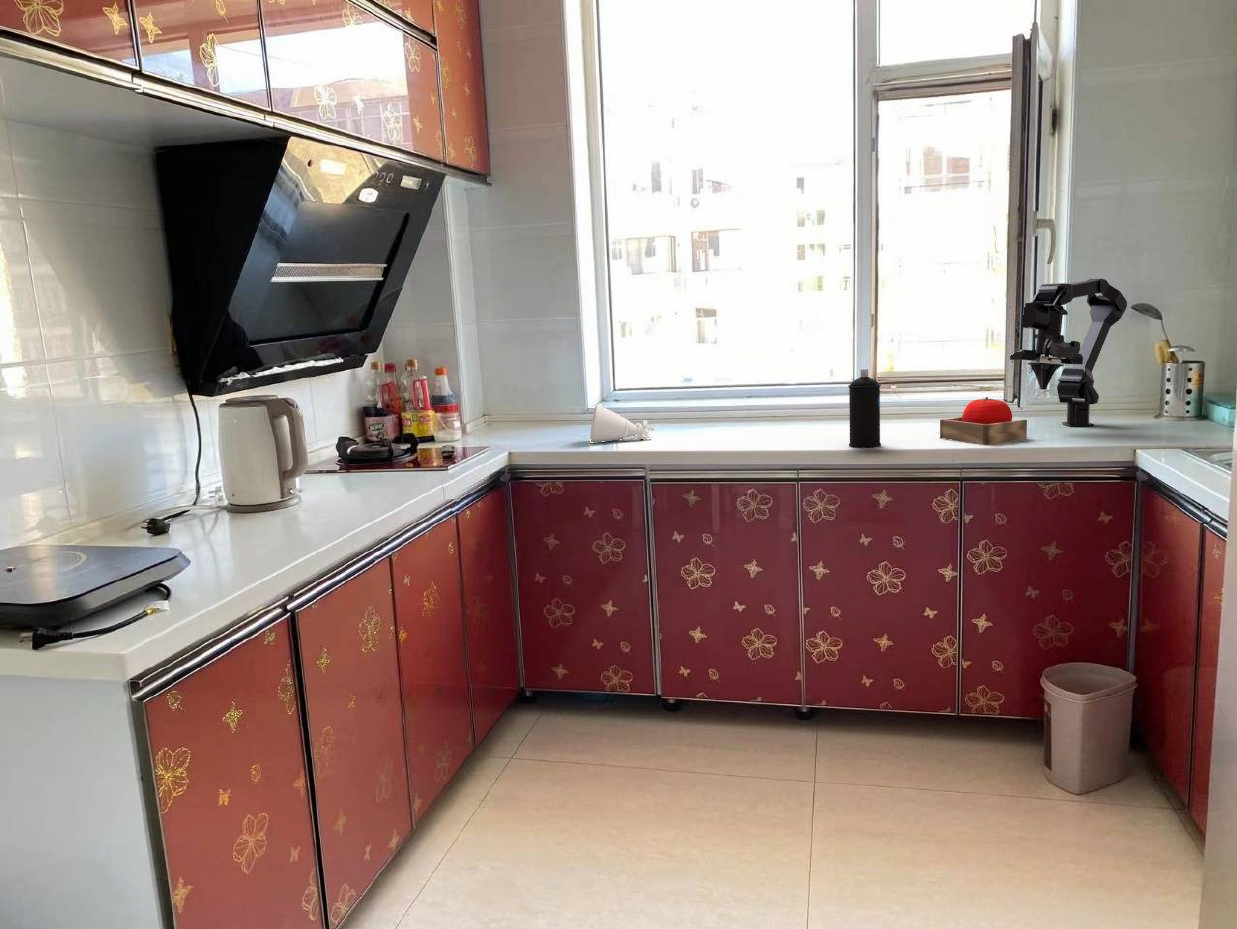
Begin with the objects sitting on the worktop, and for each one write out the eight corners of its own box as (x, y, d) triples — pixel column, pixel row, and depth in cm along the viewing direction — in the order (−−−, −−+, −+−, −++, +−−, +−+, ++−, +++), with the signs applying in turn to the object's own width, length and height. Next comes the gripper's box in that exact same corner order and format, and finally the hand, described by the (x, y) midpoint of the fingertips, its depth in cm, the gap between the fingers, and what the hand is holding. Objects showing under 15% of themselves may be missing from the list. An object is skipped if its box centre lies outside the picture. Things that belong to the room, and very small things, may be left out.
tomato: (953, 436, 258) (954, 397, 256) (990, 432, 262) (990, 393, 260) (983, 441, 247) (983, 400, 245) (1020, 437, 251) (1021, 396, 249)
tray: (979, 432, 264) (979, 414, 263) (1026, 438, 250) (1026, 419, 249) (939, 438, 258) (940, 419, 257) (985, 444, 244) (986, 425, 243)
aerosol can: (861, 449, 247) (860, 371, 244) (842, 445, 255) (841, 369, 251) (887, 445, 250) (887, 368, 247) (868, 442, 258) (867, 367, 254)
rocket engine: (657, 406, 283) (597, 396, 281) (656, 435, 275) (594, 425, 273) (649, 432, 291) (591, 422, 290) (648, 461, 284) (588, 451, 282)
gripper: (1038, 327, 247) (1031, 388, 249) (1100, 332, 252) (1094, 392, 253) (1011, 328, 258) (1005, 387, 260) (1071, 333, 262) (1065, 391, 264)
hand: (1043, 389), depth 259 cm, fingers closed
